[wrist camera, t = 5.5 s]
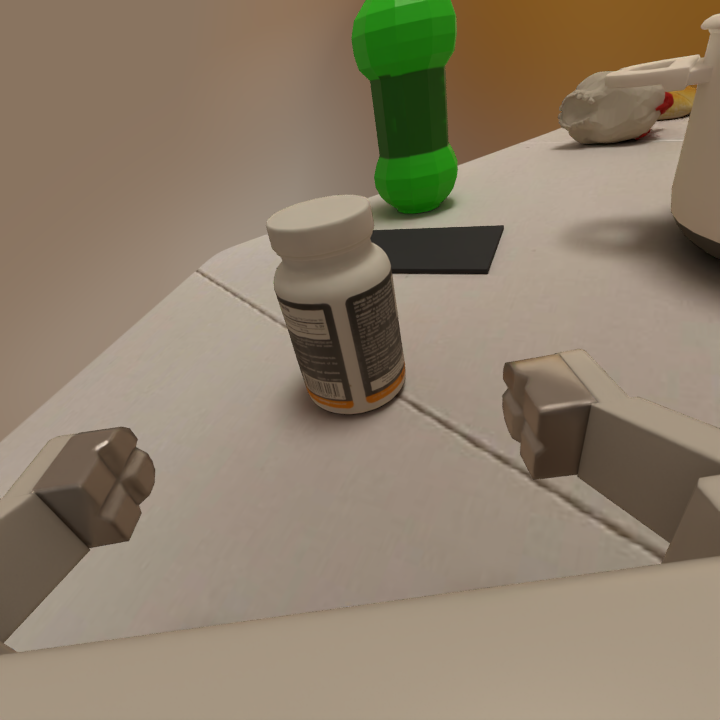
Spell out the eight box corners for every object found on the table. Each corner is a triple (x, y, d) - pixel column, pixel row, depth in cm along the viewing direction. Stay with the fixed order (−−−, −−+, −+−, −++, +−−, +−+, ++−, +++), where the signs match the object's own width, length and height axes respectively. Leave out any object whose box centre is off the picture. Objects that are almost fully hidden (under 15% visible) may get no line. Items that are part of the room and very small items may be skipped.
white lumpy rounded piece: (549, 145, 63) (617, 137, 68) (616, 149, 54) (688, 139, 60) (561, 74, 59) (632, 71, 64) (636, 65, 50) (712, 63, 55)
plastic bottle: (360, 216, 51) (314, -61, 37) (417, 191, 56) (396, -61, 42) (420, 225, 45) (392, -109, 31) (479, 197, 50) (478, -103, 35)
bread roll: (624, 120, 72) (628, 94, 70) (669, 110, 73) (674, 83, 71) (664, 122, 66) (670, 93, 63) (712, 111, 67) (720, 81, 64)
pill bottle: (387, 346, 26) (361, 183, 21) (422, 399, 22) (402, 207, 16) (301, 372, 26) (250, 211, 20) (318, 433, 21) (258, 244, 15)
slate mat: (277, 272, 40) (276, 268, 40) (322, 235, 48) (321, 232, 47) (487, 273, 32) (487, 269, 32) (503, 229, 40) (503, 225, 39)
